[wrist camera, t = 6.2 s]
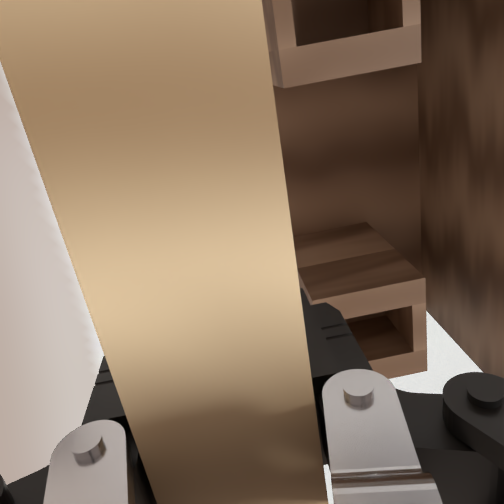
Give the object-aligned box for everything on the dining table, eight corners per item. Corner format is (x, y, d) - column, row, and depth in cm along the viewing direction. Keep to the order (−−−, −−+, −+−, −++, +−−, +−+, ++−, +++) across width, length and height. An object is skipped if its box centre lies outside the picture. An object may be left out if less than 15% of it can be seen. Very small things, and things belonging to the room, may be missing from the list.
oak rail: (91, -28, 11) (-81, -169, 4) (212, -48, 11) (233, -218, 4) (224, 484, 18) (240, 738, 11) (297, 469, 18) (355, 711, 12)
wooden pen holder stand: (215, -60, 26) (230, -180, 13) (418, -96, 27) (625, -246, 14) (279, 321, 36) (323, 461, 24) (425, 291, 37) (547, 413, 24)
